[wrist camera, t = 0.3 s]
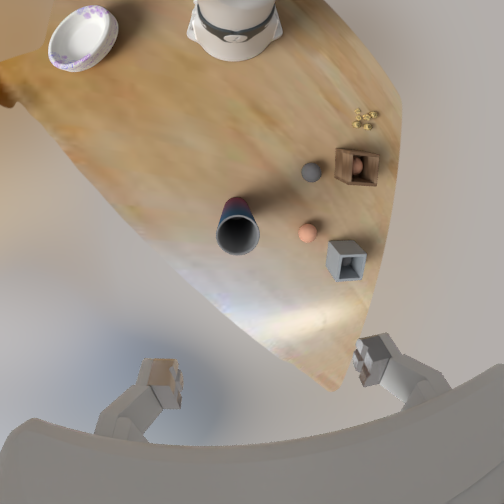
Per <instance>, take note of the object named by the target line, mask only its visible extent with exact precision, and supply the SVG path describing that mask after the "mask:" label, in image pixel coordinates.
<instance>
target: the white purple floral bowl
mask: <svg viewBox="0 0 504 504" xmlns="http://www.w3.org/2000/svg"><path fill="white" fill-rule="evenodd" d="M118 30H119V29H118V23H117V20H116V18H115V17H114V16H113V15H112V14H111V13H110V12H109V11H108V10H107V9H105V8H104V7H102V6H99V5H90V6H86V7H82V8H80V9H78V10H76V11H74V12H73V13H71V14H70V15H69V16H67V17H66V18H65V19H64V20H63V21H62V22H61V23H60V24H59V26H58V27H57V28H56V30H55V32H54V33H53V35H52V37H51V40H50V43H49V48H48V54H49V59H50V61H51V63H52V64H53V65H54V66H55V67H57V68H59V69H62V70H66V71H70V72H79V71H83V70H86V69H88V68H91V67H93V66H94V65H96V64H97V63H98V62H99V61H101V60H102V59H103V58H104V57H105V56H106V55H107V54H108V52H109V51H110V50H111V48H112V47H113V45H114V43H115V41H116V38H117V35H118Z"/></svg>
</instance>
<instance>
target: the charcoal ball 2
mask: <svg viewBox="0 0 504 504" xmlns="http://www.w3.org/2000/svg"><path fill="white" fill-rule="evenodd" d="M351 260H352V257H343V258H342V263H341V266H347V265H349V264H350V262H351Z"/></svg>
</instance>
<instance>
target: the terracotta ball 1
mask: <svg viewBox="0 0 504 504" xmlns="http://www.w3.org/2000/svg"><path fill="white" fill-rule="evenodd" d="M298 234H299V237H300V239H301V240H302V241H304V242H307V243H308V242H312V241H314V240H315V238H316V236H317V230H316V228H315V227H314V226H313V225H311V224H304V225H302V226H301V227H300V229H299V232H298Z"/></svg>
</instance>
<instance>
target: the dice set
mask: <svg viewBox="0 0 504 504" xmlns="http://www.w3.org/2000/svg"><path fill="white" fill-rule="evenodd" d="M354 111H355V112H356V114H359V113H360V110H359V109H358V108H357V109H356V110H354ZM377 116H378V115H377V113H376V112H370V113H369V115H367V114H365V115H363V119H364V120H369V119H370V117H371V118H377ZM356 119H357V120H358V121H360V120H361V119H362V118H361V117H360V116H359V115H358V116H357V117H356ZM352 126H353V127H354V128H360V127H361V123H360V122H357V121H354V122H353V123H352ZM363 127H364V129H365V130H371V129H372V125H371V124H364V125H363Z"/></svg>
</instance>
